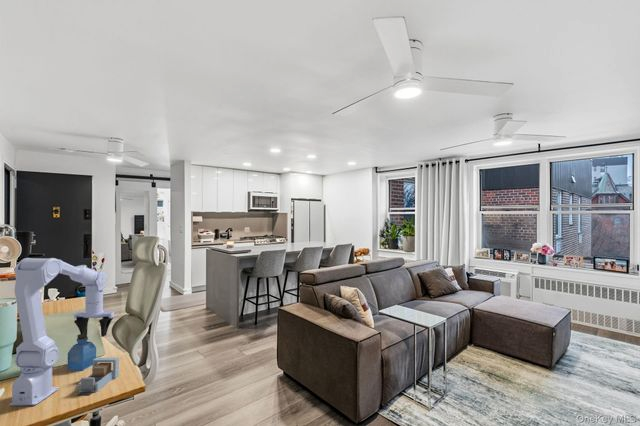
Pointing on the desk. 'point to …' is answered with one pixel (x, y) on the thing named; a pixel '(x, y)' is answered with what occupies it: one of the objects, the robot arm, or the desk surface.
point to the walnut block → (101, 370)
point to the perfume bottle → (81, 354)
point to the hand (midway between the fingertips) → (94, 335)
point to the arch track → (104, 380)
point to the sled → (89, 383)
